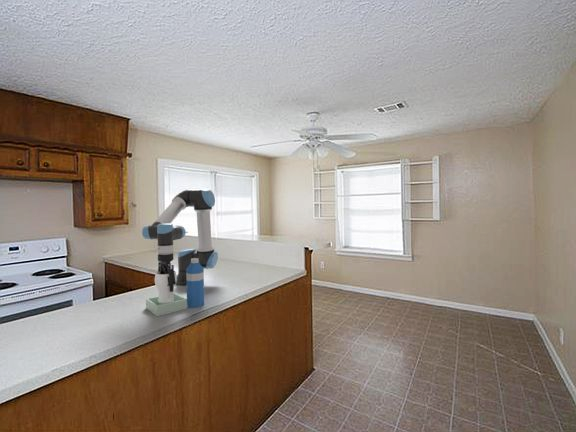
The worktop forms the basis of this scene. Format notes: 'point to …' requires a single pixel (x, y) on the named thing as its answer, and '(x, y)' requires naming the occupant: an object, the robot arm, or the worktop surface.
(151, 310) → the dish rack
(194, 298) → the water bottle
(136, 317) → the worktop surface
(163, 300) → the cup
